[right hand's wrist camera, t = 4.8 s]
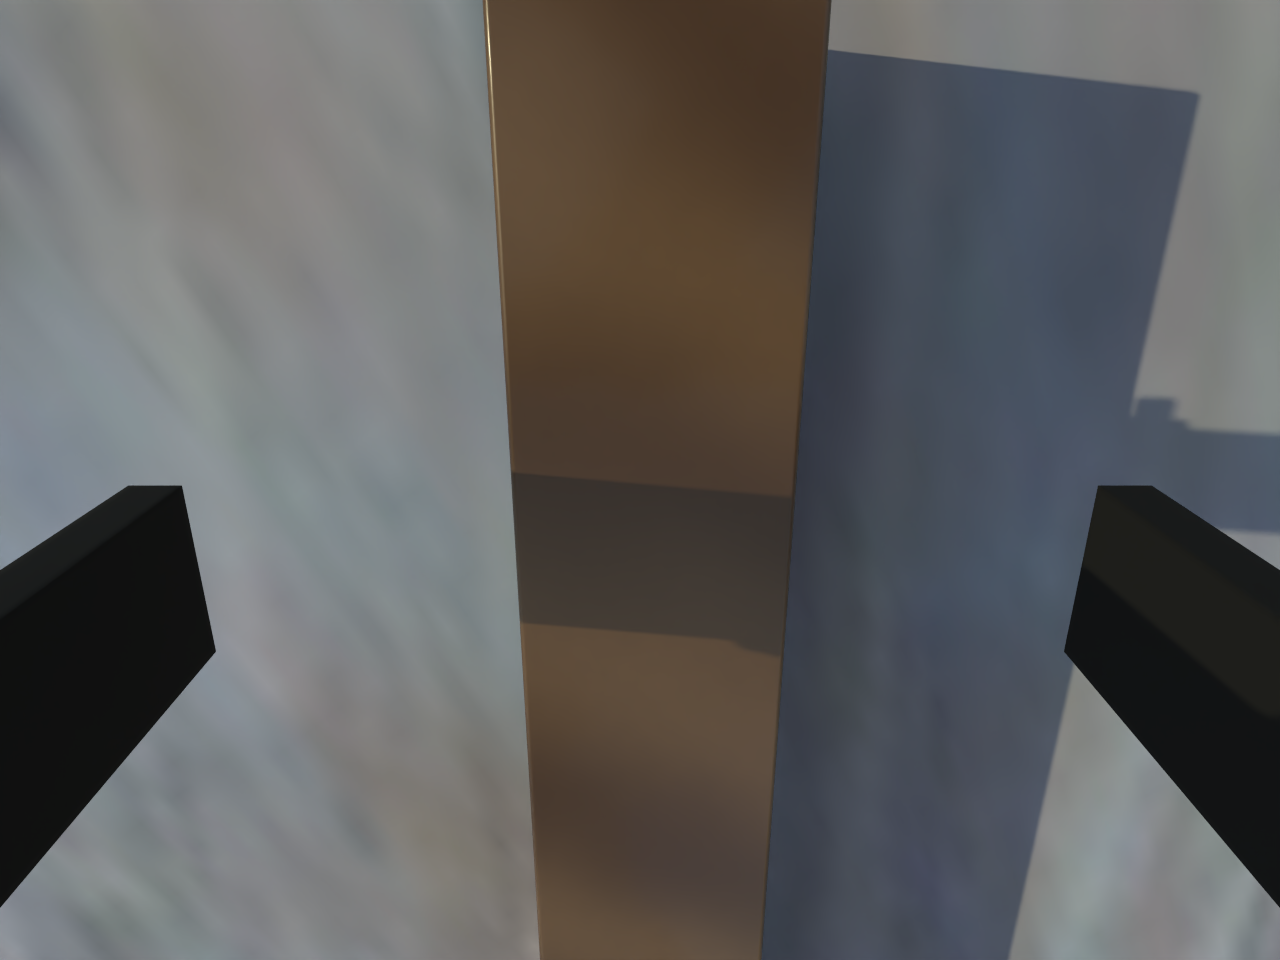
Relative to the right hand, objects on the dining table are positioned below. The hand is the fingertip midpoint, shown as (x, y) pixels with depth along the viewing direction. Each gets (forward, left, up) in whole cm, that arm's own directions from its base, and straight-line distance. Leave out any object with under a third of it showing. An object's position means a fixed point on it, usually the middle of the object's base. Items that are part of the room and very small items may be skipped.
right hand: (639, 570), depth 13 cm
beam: (+17, +29, -9) cm, 35 cm away
